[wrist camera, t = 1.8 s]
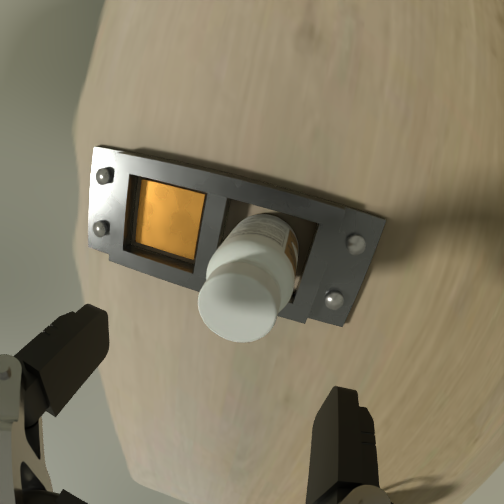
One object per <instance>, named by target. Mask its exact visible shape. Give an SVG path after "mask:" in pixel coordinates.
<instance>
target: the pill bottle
mask: <svg viewBox="0 0 504 504" xmlns="http://www.w3.org/2000/svg"><path fill="white" fill-rule="evenodd" d="M298 253H299V245H298V240H297V237H296V235H295V233H294V231H293V230H292V228H291V227H290V226H289V225H288V224H287V223H286V222H285V221H283V220H282V219H280V218H278V217H276V216H273V215H268V214H257V215H252V216H249V217H247V218H245V219H244V220H242V221H241V222H240V223H239V224H238V225H237V226H236V227H235V228H234V229H233V230H232V232H231V233H230V234H229V235H228V237H227V238H226V239H225V240H224V242H223V243H222V244H221V245H220V247H219V248H218V249H217V250H216V252H215V253H214V255H213V256H212V258H211V259H210V261H209V264H208V267H207V273H206V282H205V283H204V285H203V286H202V288H201V290H200V293H199V296H198V309H199V312H200V315H201V317H202V319H203V321H204V323H205V324H206V325H207V326H208V328H209V329H210V330H212V331H213V332H214V333H215V334H217V335H219V336H220V337H222V338H224V339H227V340H230V341H234V342H252V341H255V340H258V339H260V338H262V337H264V336H265V335H266V334H268V333H269V332H270V330H271V329H272V328H273V326H274V324H275V322H276V319H277V315H278V313H279V312H280V311H281V310H282V309H283V308H284V307H285V306H286V305H287V303H288V302H289V300H290V298H291V296H292V293H293V288H294V283H295V276H296V268H297V262H298Z"/></svg>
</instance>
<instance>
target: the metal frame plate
mask: <svg viewBox="0 0 504 504" xmlns="http://www.w3.org/2000/svg"><path fill="white" fill-rule="evenodd" d="M138 176H141V177H146V178H150V179H154V180H159V181H163V182H167V183H171V184H175V185H179V186H184V187H188V188H192V189H196V190H200V191H204V192H207V193H208V194H207V199H206V204H205V209H204V215H203V220H202V226H201V231H200V237H199V243H198V249H197V255H196V261H195V265H193V264H190V263H187V262H184V261H181V260H177V259H174V258H171V257H168V256H165V255H162V254H159V253H156V252H152V251H149V250H146V249H143V248H140V247H137V246H134V245H131V241H132V228H133V216H134V206H135V197H136V188H137V180H138ZM205 196H206V194H204V193H200V192H196V191H192V190H188V189H184V188H180V187H176V186H172V185H168V184H163V183H159V182H155V181H151V180H147V179H142V182H141V190H140V198H139V207H138V217H137V228H136V240H135V242H138V243H141V244H145V245H148V246H151V247H154V248H157V249H160V250H163V251H166V252H170V253H173V254H176V255H179V256H182V257H186V258H189V259H192V260H194V258H195V252H196V246H197V240H198V234H199V229H200V223H201V217H202V212H203V207H204V201H205ZM231 199H234V200H238V201H242V202H246V203H249V204H253V205H257V206H260V207H264V208H267V209H271V210H275V211H278V212H282V213H285V214H289V215H292V216H296V217H299V218H302V219H306V220H309V221H313V222H316V223H318V224H317V227H316V230H315V234H314V237H313V240H312V243H311V246H310V249H309V252H308V255H307V258H306V261H305V265H304V268H303V271H302V274H301V277H300V280H299V282H298V285H297V288H296V291H295V294H294V295H293V294H292V296H291V298H290V300H289V302H288V303H287V305H286V306H285V307H284V308H283V309H282V310H281V311H280V312H279V313H278V315H277V316H280V317H283V318H287V319H290V320H294V321H297V322H301V323H304V324H305V323H306V320H307V318H311V319H314V320H318V321H322V322H325V323H329V324H333V325H336V326H340V327H343V325H344V323H345V320H346V318H347V316H348V314H349V312H350V309H351V307H352V305H353V303H354V300H355V298H356V296H357V293H358V291H359V289H360V286H361V284H362V282H363V279H364V277H365V274H366V272H367V270H368V267H369V265H370V262H371V260H372V257H373V254H374V252H375V249H376V247H377V244H378V241H379V239H380V236H381V233H382V231H383V228H384V225H385V222H386V220H385V219H384V218H381V217H378V216H375V215H372V214H369V213H366V212H363V211H360V210H357V209H354V208H351V207H348V206H345V205H341V204H338V203H335V202H332V201H328V200H325V199H322V198H318V197H315V196H312V195H308V194H305V193H301V192H298V191H294V190H291V189H287V188H284V187H280V186H276V185H273V184H269V183H265V182H262V181H258V180H254V179H250V178H246V177H242V176H238V175H234V174H230V173H226V172H222V171H218V170H214V169H210V168H205V167H201V166H196V165H192V164H188V163H183V162H178V161H174V160H169V159H164V158H159V157H154V156H149V155H144V154H139V153H134V152H129V151H123V150H118V149H112V148H106V147H100V146H94V150H93V160H92V170H91V182H90V197H89V219H88V247H90V248H93V249H96V250H98V251H101V252H104V253H107V254H109V261H112V262H114V263H117V264H120V265H123V266H125V267H128V268H131V269H134V270H137V271H139V272H142V273H145V274H148V275H151V276H154V277H156V278H159V279H162V280H165V281H168V282H171V283H174V284H177V285H180V286H183V287H186V288H189V289H192V290H195V291H198V292H200V290H201V288H202V286H203V285H204V283H205V282H206V273H207V267H208V264H209V261H210V259H211V258H212V256H213V255H214V253H215V252H216V250H217V249H218V248H219V247H220V245H221V244H222V239H223V234H224V230H225V225H226V220H227V215H228V211H229V206H230V201H231Z"/></svg>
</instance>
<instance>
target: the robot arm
mask: <svg viewBox="0 0 504 504" xmlns="http://www.w3.org/2000/svg"><path fill="white" fill-rule="evenodd" d="M108 350H109V328H108V314H107V312H106V311H104V310H102V309H100V308H97V307H95V306H93V305H91V304H86V305H84V306H83V307H82V308H81V309H80V310H78V311H77V312H76V313H75V312H73V311H72V312H69V313H67V314H65V315H62V316H60V317H58V318H57V319H56V320H55V321H54V322H52V324H50V326H48V327H47V328H45V329H44V330H43V332H41V333H40V334H38V335H37V336H36V337H35V338H34V339H33V340H32V341H30V342H29V343H28V344H27V345H26V346H25V347H24V348H23V349H21V350H20V351H19V352H18V353H17V354H16V355H14V356H11V355H7V354H1V355H0V504H88V503H86V502H84V501H82V500H81V499H79V498H77V497H76V496H74V495H72V494H70V493H69V492H67V491H66V490H64V489H63V490H62V491H61V493H60V494H58V493H54V492H53V489H52V484H51V480H50V476H49V474H48V471H47V469H46V464H45V457H44V444H43V429H42V417H41V416H42V414H43V413H44V412H45V411H47V412H49V413H50V414H52V415H53V416H55V417H56V416H57V415H58V414H59V413H60V411H61V410H62V409H63V407H64V406H65V405H66V404H67V403H68V402H69V400H70V399H71V398H72V397H73V395H74V394H75V393H76V392H77V390H78V389H79V388H80V387H81V386H82V384H83V383H84V382H85V381H86V380H87V379H88V377H89V376H90V375H91V374H92V373H93V371H94V370H95V369H96V368H97V367H98V366H99V364H100V363H101V362H102V361H103V360H104V358H105V357H106V355H107V353H108ZM374 433H375V430H374V421H373V418H372V417H371V415H370V413H369V411H368V409H367V408H366V407H360V406H359V403H358V393H357V391H356V390H353V389H348V388H343V387H338V386H334V387H333V388H332V390H331V391H330V393H329V395H328V397H327V398H326V400H325V401H324V403H323V405H322V406H321V408H320V410H319V411H318V413H317V415H316V417H315V420H314V424H313V429H312V442H311V455H310V466H309V476H308V486H307V495H306V504H393V503H392V502H390V499H389V497H388V495H387V494H386V493H385V492H384V491H383V490H382V489H380V486H379V476H378V463H377V451H376V446H375V444H376V440H375V435H374Z"/></svg>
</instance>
